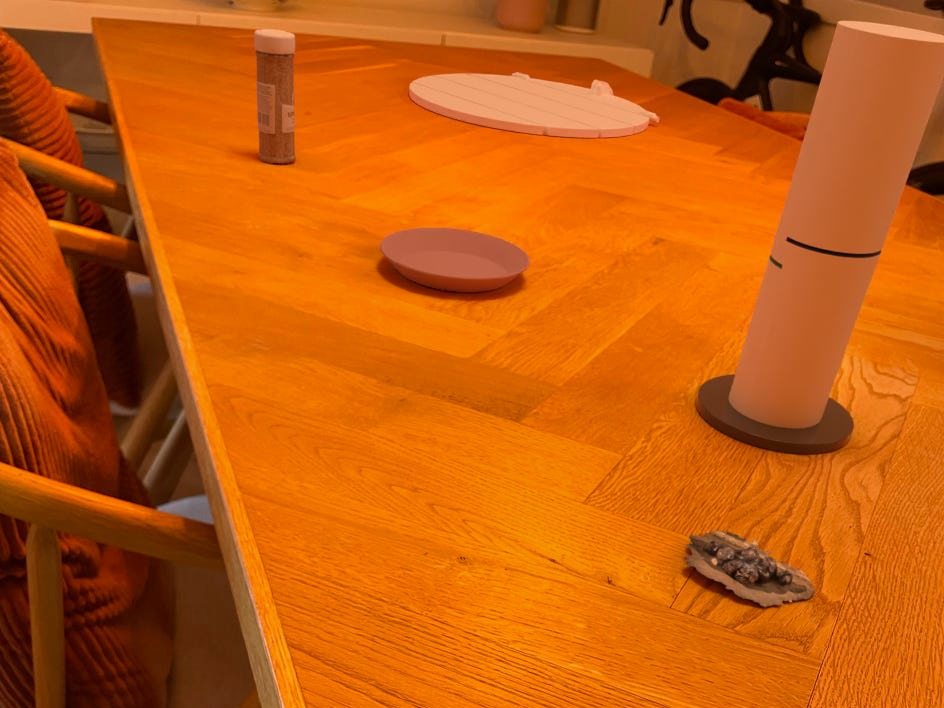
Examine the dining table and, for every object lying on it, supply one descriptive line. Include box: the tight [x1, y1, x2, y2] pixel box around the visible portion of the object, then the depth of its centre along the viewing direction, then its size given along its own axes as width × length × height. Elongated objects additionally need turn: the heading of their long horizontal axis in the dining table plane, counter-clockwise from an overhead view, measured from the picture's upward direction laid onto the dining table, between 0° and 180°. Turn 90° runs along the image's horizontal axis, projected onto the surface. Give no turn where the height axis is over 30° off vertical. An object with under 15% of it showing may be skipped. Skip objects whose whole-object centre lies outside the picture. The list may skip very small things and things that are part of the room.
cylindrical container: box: [729, 20, 944, 429], centre depth 68 cm, size 7×7×25 cm
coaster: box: [695, 373, 855, 455], centre depth 76 cm, size 12×12×1 cm
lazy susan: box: [408, 71, 661, 139], centre depth 160 cm, size 40×39×3 cm
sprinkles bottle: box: [253, 28, 297, 165], centre depth 116 cm, size 5×5×14 cm
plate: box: [379, 227, 531, 293], centre depth 94 cm, size 14×14×2 cm
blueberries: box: [682, 530, 817, 608], centre depth 58 cm, size 7×8×2 cm
